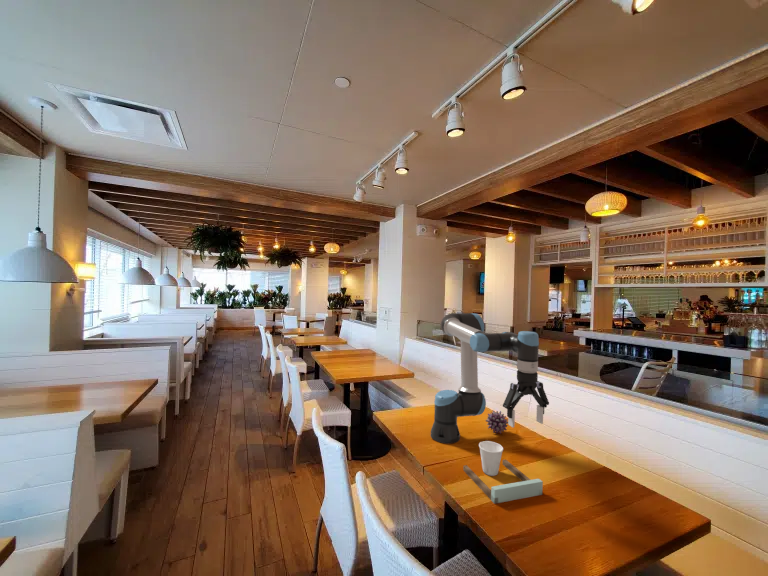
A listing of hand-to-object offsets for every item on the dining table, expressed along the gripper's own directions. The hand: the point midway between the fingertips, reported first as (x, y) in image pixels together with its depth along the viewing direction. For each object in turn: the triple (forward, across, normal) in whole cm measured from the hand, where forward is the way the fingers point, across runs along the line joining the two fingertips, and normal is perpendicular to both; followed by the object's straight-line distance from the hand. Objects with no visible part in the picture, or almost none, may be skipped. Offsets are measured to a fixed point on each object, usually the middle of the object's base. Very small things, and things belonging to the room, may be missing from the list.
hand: (525, 424), depth 129 cm
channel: (+25, -7, +5) cm, 26 cm away
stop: (+25, -8, -5) cm, 26 cm away
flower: (+25, +19, +43) cm, 54 cm away
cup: (+25, -7, +12) cm, 29 cm away
